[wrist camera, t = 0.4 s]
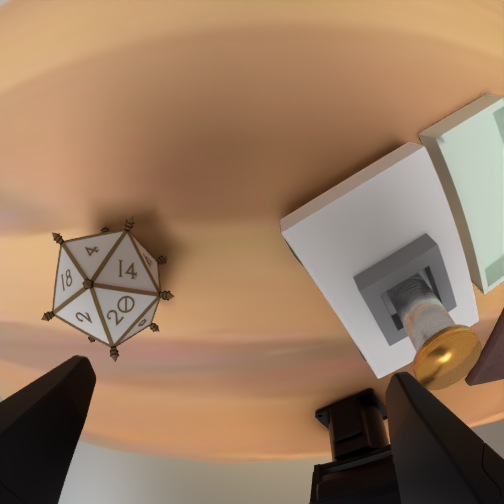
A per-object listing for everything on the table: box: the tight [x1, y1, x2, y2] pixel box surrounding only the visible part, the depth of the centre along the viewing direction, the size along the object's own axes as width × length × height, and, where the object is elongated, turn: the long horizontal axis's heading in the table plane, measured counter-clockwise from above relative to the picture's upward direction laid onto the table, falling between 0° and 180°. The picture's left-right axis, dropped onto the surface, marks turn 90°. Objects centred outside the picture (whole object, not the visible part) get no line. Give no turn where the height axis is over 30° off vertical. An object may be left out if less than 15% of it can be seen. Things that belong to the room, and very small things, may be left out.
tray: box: [418, 94, 504, 295], centre depth 17 cm, size 13×7×2 cm, turn 35°
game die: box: [41, 216, 174, 362], centre depth 18 cm, size 9×8×10 cm
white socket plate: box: [280, 141, 479, 379], centre depth 18 cm, size 14×10×6 cm
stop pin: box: [387, 272, 481, 390], centre depth 14 cm, size 3×3×7 cm
